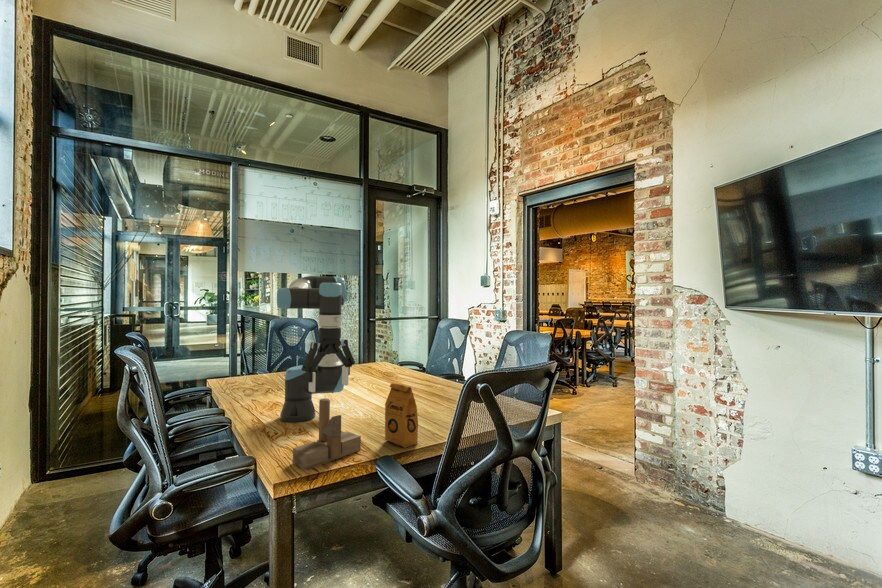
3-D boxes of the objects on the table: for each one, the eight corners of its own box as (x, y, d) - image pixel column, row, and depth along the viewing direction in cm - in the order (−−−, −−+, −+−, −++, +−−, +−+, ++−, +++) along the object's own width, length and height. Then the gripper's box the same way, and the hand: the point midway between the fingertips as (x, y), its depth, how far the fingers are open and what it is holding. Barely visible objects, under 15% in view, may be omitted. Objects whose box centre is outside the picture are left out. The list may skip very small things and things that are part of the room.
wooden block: (331, 459, 133) (332, 405, 134) (316, 450, 141) (317, 399, 141) (341, 456, 136) (342, 403, 136) (325, 447, 144) (326, 397, 144)
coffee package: (402, 450, 145) (402, 389, 145) (381, 441, 153) (381, 384, 154) (422, 443, 152) (422, 385, 152) (401, 435, 160) (401, 380, 161)
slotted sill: (292, 463, 132) (292, 448, 132) (346, 444, 150) (346, 431, 150) (306, 469, 127) (306, 454, 127) (360, 450, 145) (360, 436, 145)
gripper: (304, 330, 127) (303, 396, 127) (364, 325, 146) (364, 383, 146) (291, 328, 132) (290, 392, 132) (351, 324, 151) (351, 380, 151)
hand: (329, 388), depth 139 cm, fingers open, 13 cm apart
